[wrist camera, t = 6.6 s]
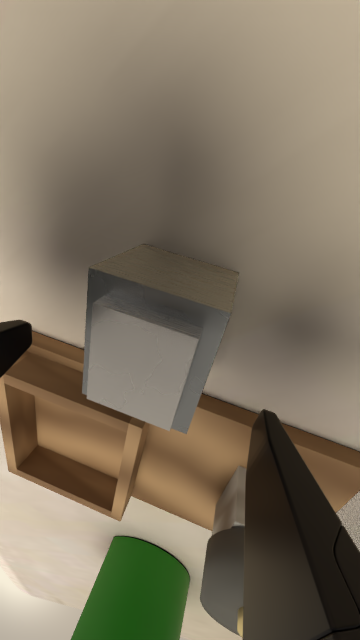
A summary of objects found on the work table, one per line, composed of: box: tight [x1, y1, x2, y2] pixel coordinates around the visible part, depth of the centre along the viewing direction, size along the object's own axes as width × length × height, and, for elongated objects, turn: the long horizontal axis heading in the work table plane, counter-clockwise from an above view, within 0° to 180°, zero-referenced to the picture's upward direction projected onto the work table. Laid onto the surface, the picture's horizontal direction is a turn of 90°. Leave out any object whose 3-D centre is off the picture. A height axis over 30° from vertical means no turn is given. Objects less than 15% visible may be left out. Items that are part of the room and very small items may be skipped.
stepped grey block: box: [82, 244, 239, 434], centre depth 12 cm, size 6×5×6 cm
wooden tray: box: [0, 331, 360, 536], centre depth 17 cm, size 12×23×4 cm, turn 76°
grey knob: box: [200, 528, 245, 638], centre depth 14 cm, size 6×6×6 cm
